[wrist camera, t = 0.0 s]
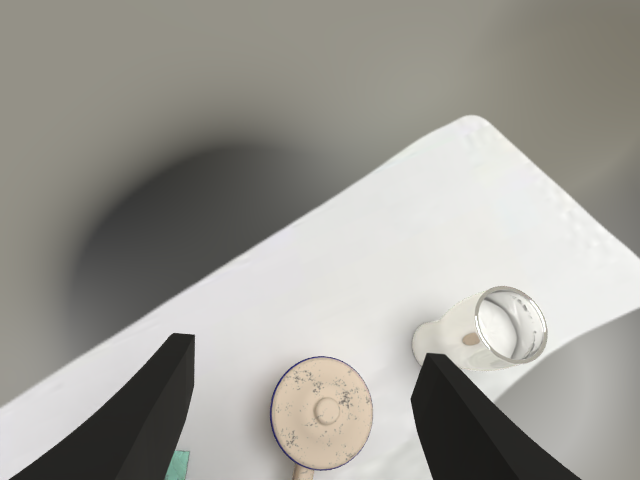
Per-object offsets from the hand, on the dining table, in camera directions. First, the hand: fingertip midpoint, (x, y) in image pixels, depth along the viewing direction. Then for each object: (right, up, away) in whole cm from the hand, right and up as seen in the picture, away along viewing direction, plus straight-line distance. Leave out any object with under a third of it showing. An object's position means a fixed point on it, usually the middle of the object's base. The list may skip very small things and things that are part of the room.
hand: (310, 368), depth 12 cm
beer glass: (+14, -9, +34) cm, 38 cm away
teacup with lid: (-1, -15, +29) cm, 33 cm away
